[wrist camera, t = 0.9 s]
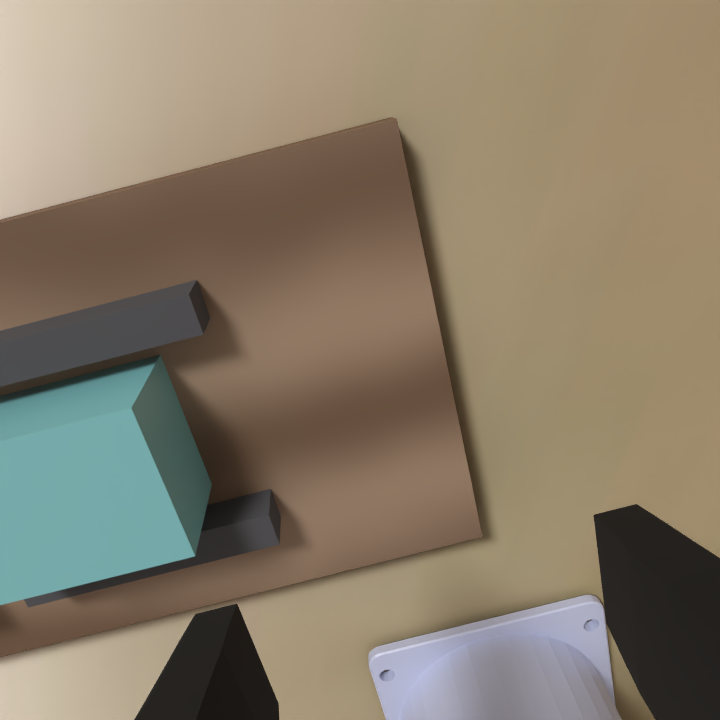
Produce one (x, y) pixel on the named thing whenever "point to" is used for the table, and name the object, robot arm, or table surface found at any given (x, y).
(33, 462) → the plug
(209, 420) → the base board
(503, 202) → the table surface
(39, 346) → the grey blocks
